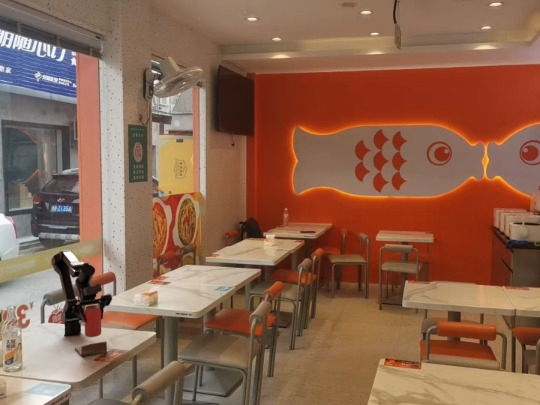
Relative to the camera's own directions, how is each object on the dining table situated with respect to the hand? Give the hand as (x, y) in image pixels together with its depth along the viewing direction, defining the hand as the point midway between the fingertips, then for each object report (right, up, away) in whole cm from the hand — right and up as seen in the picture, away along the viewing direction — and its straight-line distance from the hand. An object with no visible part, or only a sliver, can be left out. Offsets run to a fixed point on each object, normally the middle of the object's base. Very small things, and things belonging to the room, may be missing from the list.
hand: (93, 320), depth 229 cm
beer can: (-1, -7, +2) cm, 7 cm away
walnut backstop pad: (-1, -13, 0) cm, 13 cm away
